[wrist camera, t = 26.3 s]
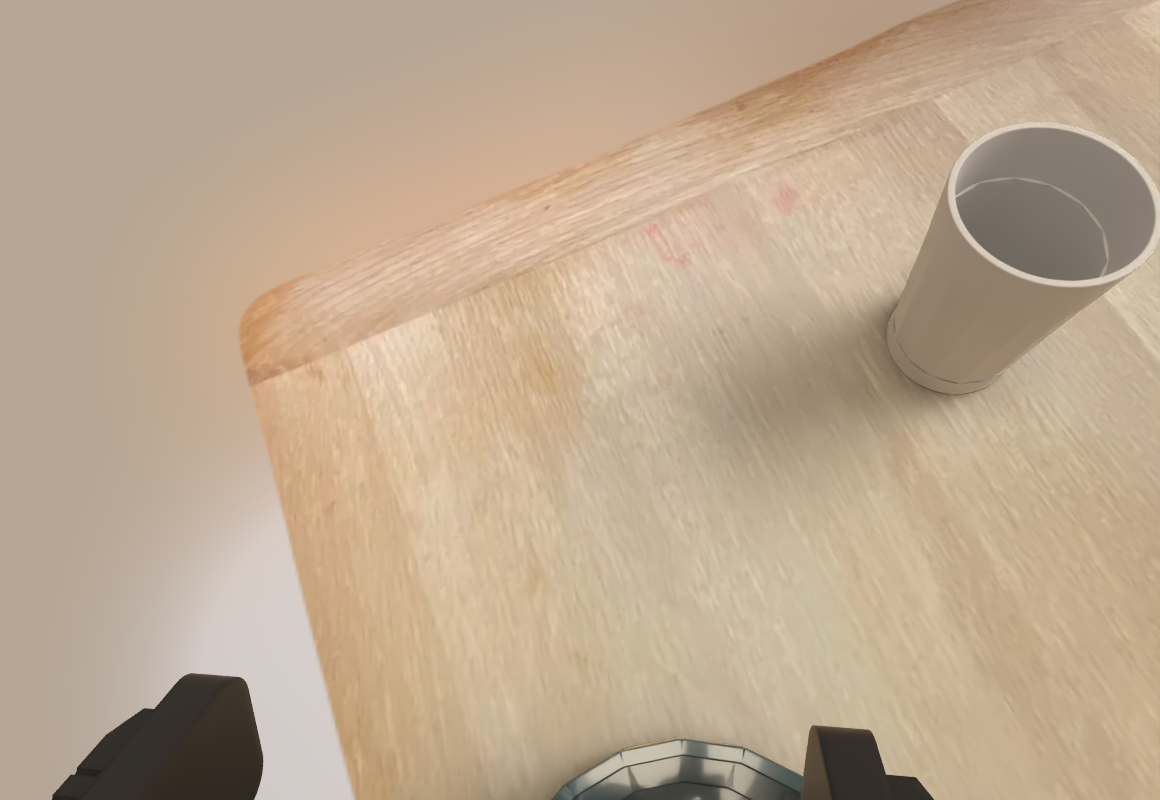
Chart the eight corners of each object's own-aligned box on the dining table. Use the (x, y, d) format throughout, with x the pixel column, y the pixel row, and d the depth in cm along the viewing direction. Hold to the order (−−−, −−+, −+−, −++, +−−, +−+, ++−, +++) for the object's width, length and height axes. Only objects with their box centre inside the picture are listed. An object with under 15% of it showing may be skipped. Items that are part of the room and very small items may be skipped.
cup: (848, 296, 43) (915, 148, 32) (986, 262, 43) (1099, 102, 32) (905, 425, 40) (1001, 309, 29) (1053, 387, 40) (1206, 257, 29)
